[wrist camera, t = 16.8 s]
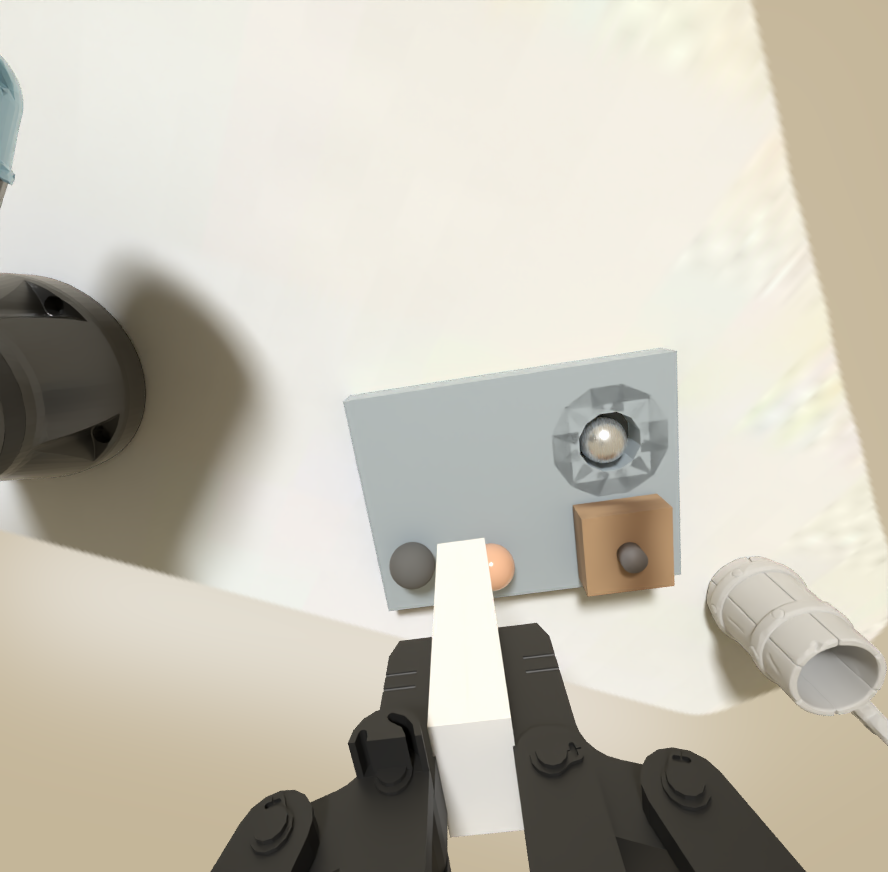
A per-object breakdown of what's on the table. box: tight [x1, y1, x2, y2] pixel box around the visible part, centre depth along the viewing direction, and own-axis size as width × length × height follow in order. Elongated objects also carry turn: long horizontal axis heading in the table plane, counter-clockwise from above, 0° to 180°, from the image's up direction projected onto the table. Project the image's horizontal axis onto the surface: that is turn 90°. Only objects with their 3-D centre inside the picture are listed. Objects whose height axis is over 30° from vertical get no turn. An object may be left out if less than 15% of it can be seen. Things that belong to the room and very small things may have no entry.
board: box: [343, 348, 681, 611], centre depth 36 cm, size 24×18×2 cm
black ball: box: [389, 542, 435, 589], centre depth 35 cm, size 4×4×4 cm
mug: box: [707, 556, 888, 746], centre depth 35 cm, size 8×12×12 cm, turn 44°
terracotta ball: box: [485, 543, 515, 591], centre depth 35 cm, size 4×4×4 cm
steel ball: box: [579, 417, 627, 463], centre depth 35 cm, size 4×4×4 cm
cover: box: [573, 494, 674, 596], centre depth 34 cm, size 6×6×4 cm
